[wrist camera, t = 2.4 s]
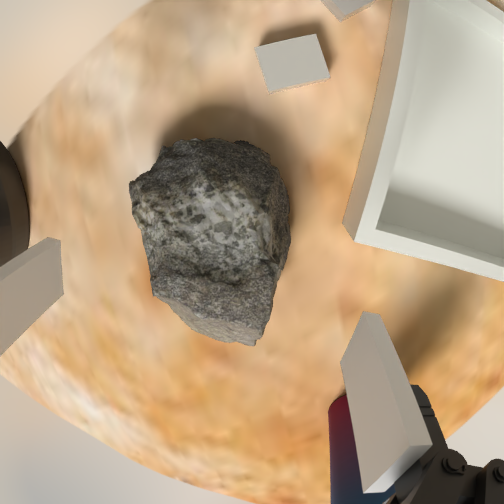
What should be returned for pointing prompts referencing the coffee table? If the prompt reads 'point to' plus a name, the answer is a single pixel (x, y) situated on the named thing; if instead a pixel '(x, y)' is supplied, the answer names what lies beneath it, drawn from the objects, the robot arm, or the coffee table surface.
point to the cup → (347, 460)
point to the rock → (214, 234)
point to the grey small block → (292, 63)
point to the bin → (436, 139)
